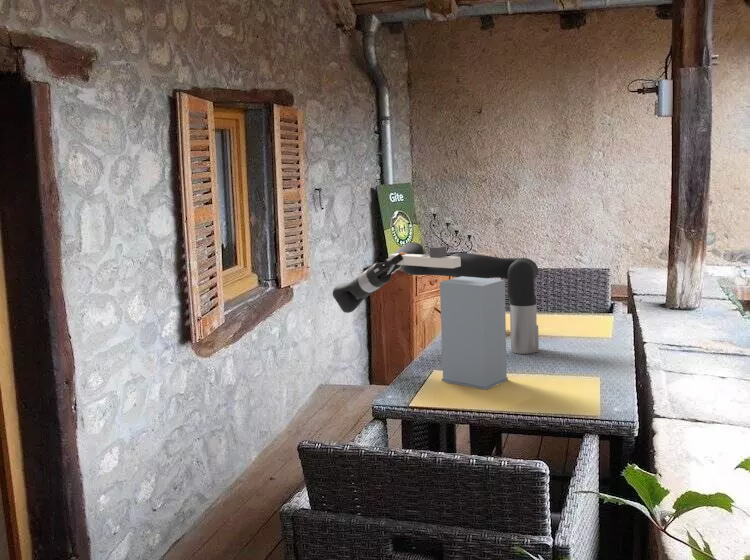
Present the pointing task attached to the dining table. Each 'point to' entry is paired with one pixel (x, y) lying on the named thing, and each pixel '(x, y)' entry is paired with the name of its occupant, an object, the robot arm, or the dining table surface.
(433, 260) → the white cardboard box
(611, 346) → the dining table surface
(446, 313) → the post
